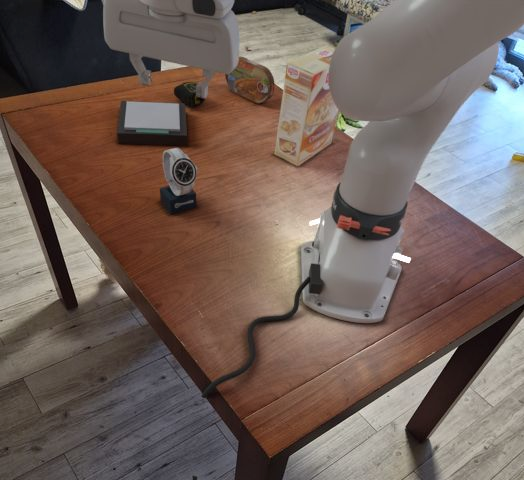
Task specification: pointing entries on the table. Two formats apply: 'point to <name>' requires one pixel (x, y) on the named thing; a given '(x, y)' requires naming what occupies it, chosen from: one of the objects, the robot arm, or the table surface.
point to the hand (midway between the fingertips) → (173, 90)
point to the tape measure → (188, 94)
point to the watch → (178, 181)
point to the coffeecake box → (306, 108)
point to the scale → (152, 123)
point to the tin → (251, 81)
